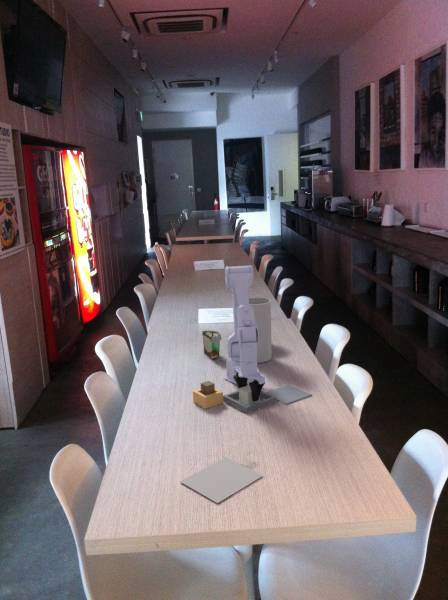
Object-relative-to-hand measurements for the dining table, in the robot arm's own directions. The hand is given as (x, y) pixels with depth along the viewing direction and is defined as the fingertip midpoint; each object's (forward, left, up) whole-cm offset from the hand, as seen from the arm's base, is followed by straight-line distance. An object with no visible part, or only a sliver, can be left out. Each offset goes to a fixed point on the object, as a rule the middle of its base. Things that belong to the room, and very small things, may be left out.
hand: (249, 397), depth 193 cm
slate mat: (+4, +14, -2) cm, 15 cm away
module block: (0, 0, -2) cm, 2 cm away
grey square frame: (0, 0, -2) cm, 2 cm away
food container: (-47, +19, -2) cm, 51 cm away
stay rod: (-9, -11, -2) cm, 14 cm away
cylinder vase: (-32, +30, -2) cm, 44 cm away
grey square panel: (+28, -33, -2) cm, 43 cm away
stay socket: (-9, -11, -2) cm, 14 cm away
